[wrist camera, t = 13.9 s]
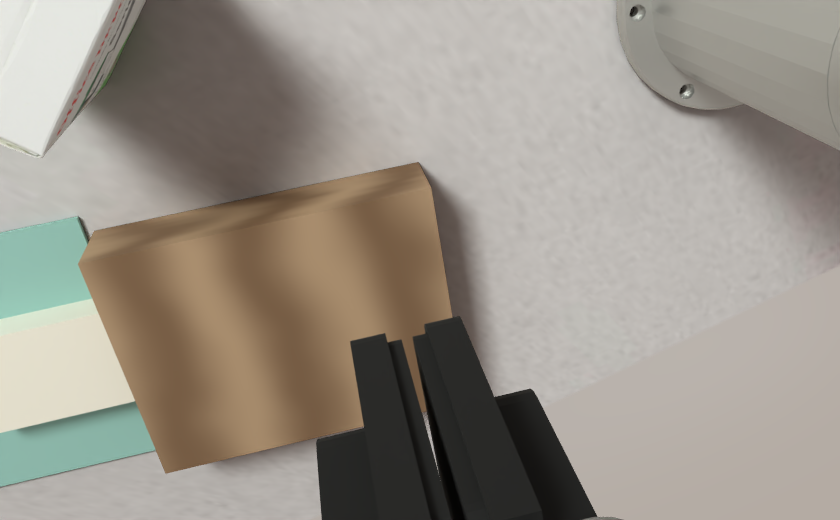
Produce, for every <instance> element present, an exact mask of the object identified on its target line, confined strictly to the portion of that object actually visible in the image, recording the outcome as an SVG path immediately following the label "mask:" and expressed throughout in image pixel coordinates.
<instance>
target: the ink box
mask: <svg viewBox="0 0 840 520" xmlns="http://www.w3.org/2000/svg"><path fill="white" fill-rule="evenodd" d="M145 2H146V0H0V144H1V145H3V146H5V147H8V148H10V149H13V150H15V151H18V152H21V153H24V154H26V155H29V156H32V157H35V158H43V157H44V155H45V154H46V152H47V151H48V150H49V149H50V148H51V146H52V145H53V144H54V143H55V142H56V141H57V139H58V138H59V137H60V136H61V135H62V134H63V132H64V131H65V130H66V129H67V128H68V126H69V125H70V124H71V123H72V122H73V121H74V120H75V118H76V117H77V116H78V115H79V114H80V113H81V112H82V111H83V109H84V108H85V107H86V106H87V105H88V104H89V103H90V102H91V101H92V99H93V98H94V97H95V96H96V95H97V94H98V93H99V92H100V90H101V89H102V88H103V87H104V86H105V85H106V83H107V81H108V79H109V78H110V76H111V74H112V72H113V69H114V67H115V65H116V63H117V61H118V59H119V57H120V54H121V52H122V50H123V48H124V46H125V44H126V42H127V40H128V38H129V35H130V33H131V31H132V29H133V27H134V25H135V23H136V21H137V19H138V17H139V14H140V12H141V10H142V8H143V6H144V4H145Z"/></svg>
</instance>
